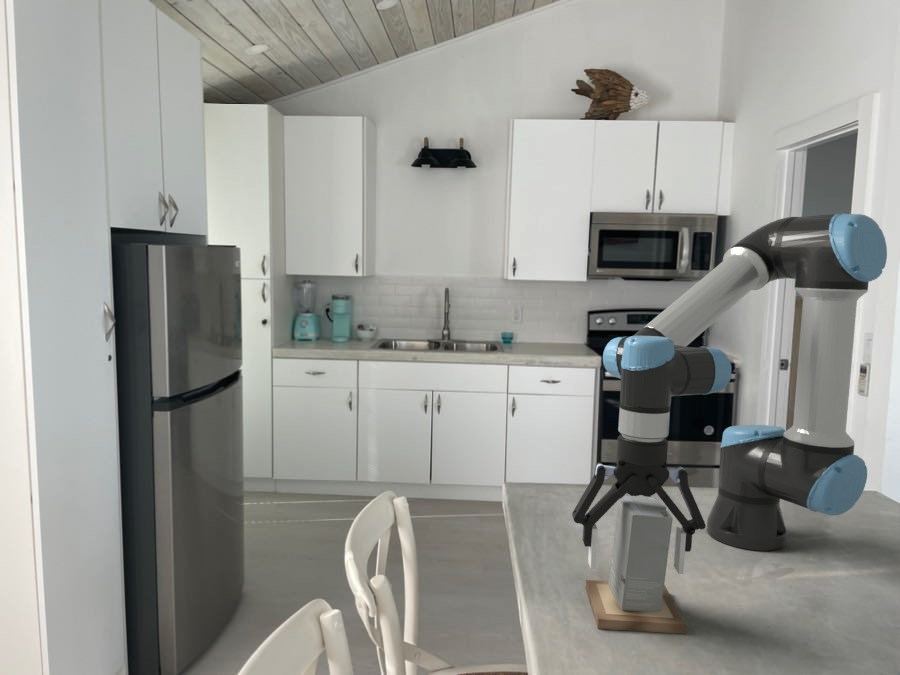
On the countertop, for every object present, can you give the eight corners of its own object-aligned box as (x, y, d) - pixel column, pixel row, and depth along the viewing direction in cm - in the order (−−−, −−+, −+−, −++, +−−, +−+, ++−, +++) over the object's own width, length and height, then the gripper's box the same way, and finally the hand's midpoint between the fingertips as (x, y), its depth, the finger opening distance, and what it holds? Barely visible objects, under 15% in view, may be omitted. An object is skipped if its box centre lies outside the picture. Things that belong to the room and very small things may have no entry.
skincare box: (607, 587, 112) (612, 493, 111) (650, 588, 113) (656, 494, 111) (621, 613, 104) (627, 512, 102) (667, 613, 104) (674, 513, 103)
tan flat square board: (663, 592, 115) (664, 583, 114) (685, 633, 102) (686, 623, 101) (585, 588, 115) (586, 579, 115) (597, 628, 102) (598, 618, 102)
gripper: (716, 433, 109) (707, 561, 111) (559, 426, 110) (553, 553, 112) (733, 445, 101) (723, 583, 103) (564, 438, 103) (558, 574, 105)
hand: (634, 568), depth 108 cm, fingers open, 13 cm apart
